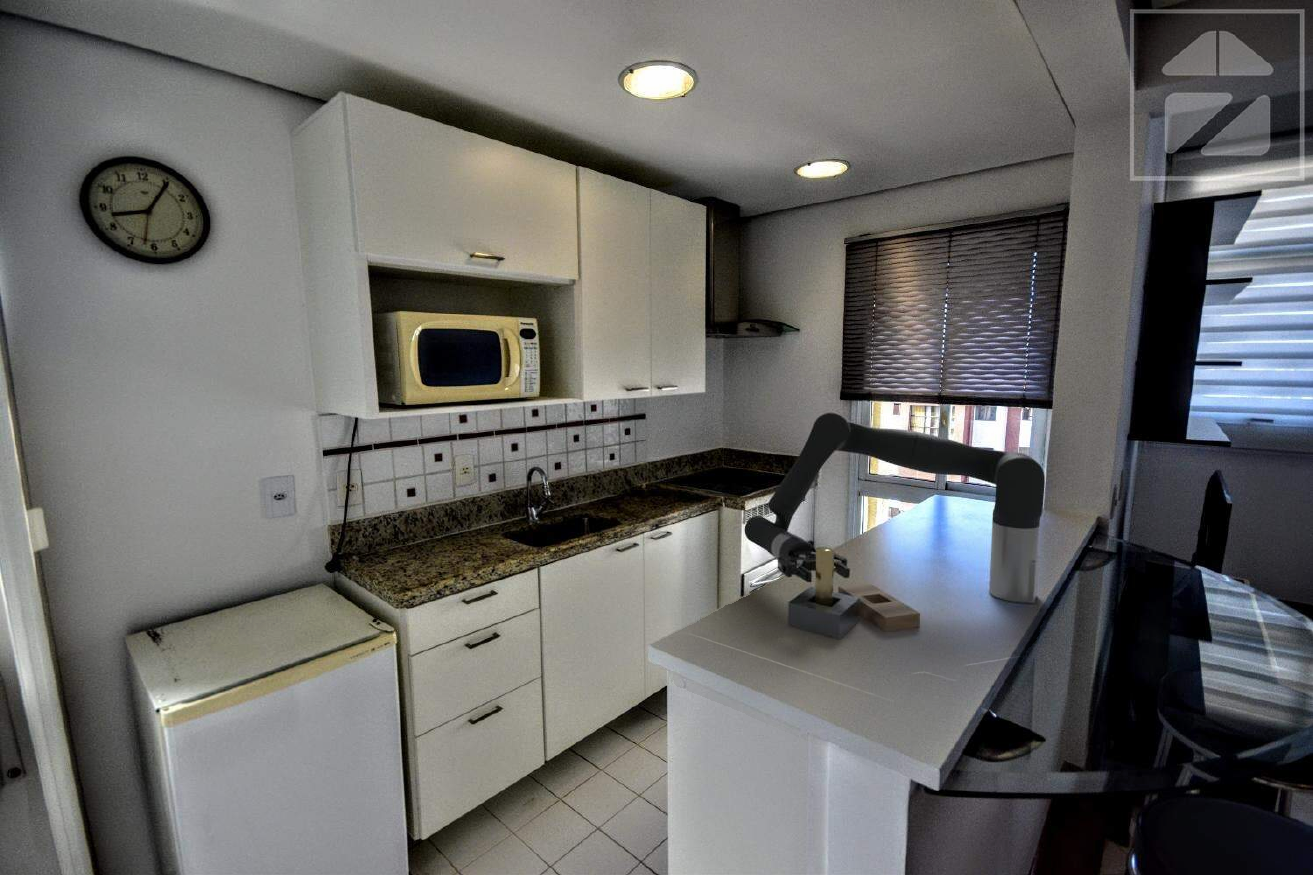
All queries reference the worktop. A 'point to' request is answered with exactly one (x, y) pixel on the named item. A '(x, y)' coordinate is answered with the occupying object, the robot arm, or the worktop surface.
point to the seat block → (823, 614)
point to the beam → (882, 607)
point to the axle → (824, 576)
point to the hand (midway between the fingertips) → (829, 575)
